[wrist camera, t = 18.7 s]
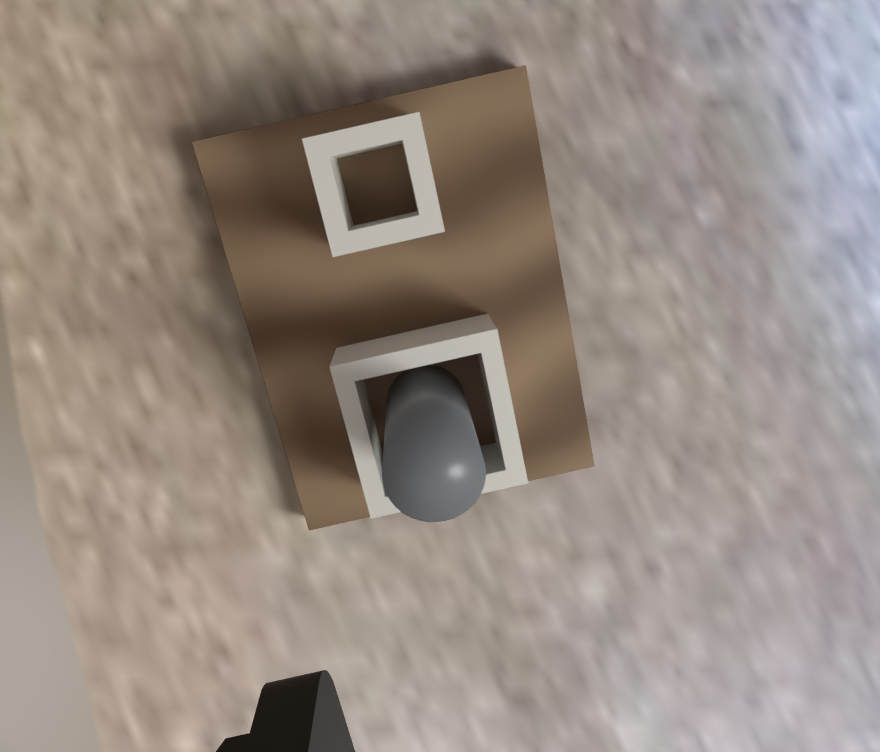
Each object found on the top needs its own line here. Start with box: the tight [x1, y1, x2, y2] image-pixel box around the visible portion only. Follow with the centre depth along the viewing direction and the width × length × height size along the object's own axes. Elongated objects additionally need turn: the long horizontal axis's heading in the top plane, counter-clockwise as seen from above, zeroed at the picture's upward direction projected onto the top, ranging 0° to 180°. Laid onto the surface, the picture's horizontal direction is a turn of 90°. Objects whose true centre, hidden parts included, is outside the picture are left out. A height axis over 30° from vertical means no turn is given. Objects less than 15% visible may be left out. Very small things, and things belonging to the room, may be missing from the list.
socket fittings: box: [302, 112, 528, 519], centre depth 36 cm, size 19×8×4 cm, turn 12°
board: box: [192, 65, 594, 530], centre depth 39 cm, size 22×17×2 cm
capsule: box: [382, 365, 486, 522], centre depth 35 cm, size 4×4×10 cm
